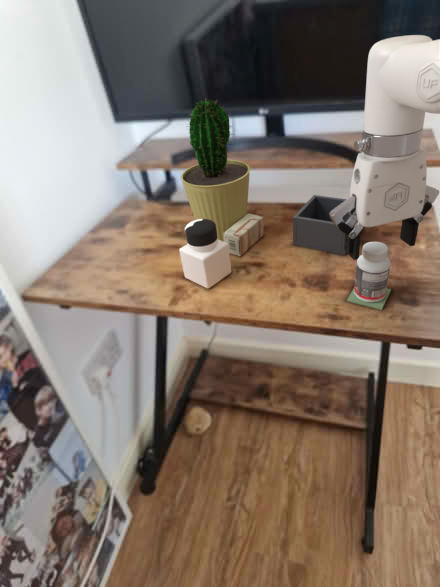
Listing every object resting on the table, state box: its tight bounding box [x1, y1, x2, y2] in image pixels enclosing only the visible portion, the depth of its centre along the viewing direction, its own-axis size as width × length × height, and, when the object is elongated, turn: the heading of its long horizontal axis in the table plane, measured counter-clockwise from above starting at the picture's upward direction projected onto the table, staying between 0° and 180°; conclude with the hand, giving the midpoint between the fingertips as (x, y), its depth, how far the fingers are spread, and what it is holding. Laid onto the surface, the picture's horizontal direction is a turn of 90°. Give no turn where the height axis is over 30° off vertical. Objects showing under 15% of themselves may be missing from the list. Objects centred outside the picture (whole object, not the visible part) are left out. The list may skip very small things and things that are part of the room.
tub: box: [292, 194, 362, 256], centre depth 88 cm, size 12×12×7 cm
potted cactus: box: [180, 98, 251, 242], centre depth 89 cm, size 15×15×30 cm
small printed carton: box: [223, 212, 265, 257], centre depth 90 cm, size 5×4×10 cm
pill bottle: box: [353, 241, 392, 302], centre depth 69 cm, size 5×5×10 cm
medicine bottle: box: [178, 219, 232, 289], centre depth 80 cm, size 7×7×12 cm
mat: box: [346, 287, 392, 311], centre depth 72 cm, size 6×6×1 cm
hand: (379, 249), depth 66 cm, fingers open, 9 cm apart
